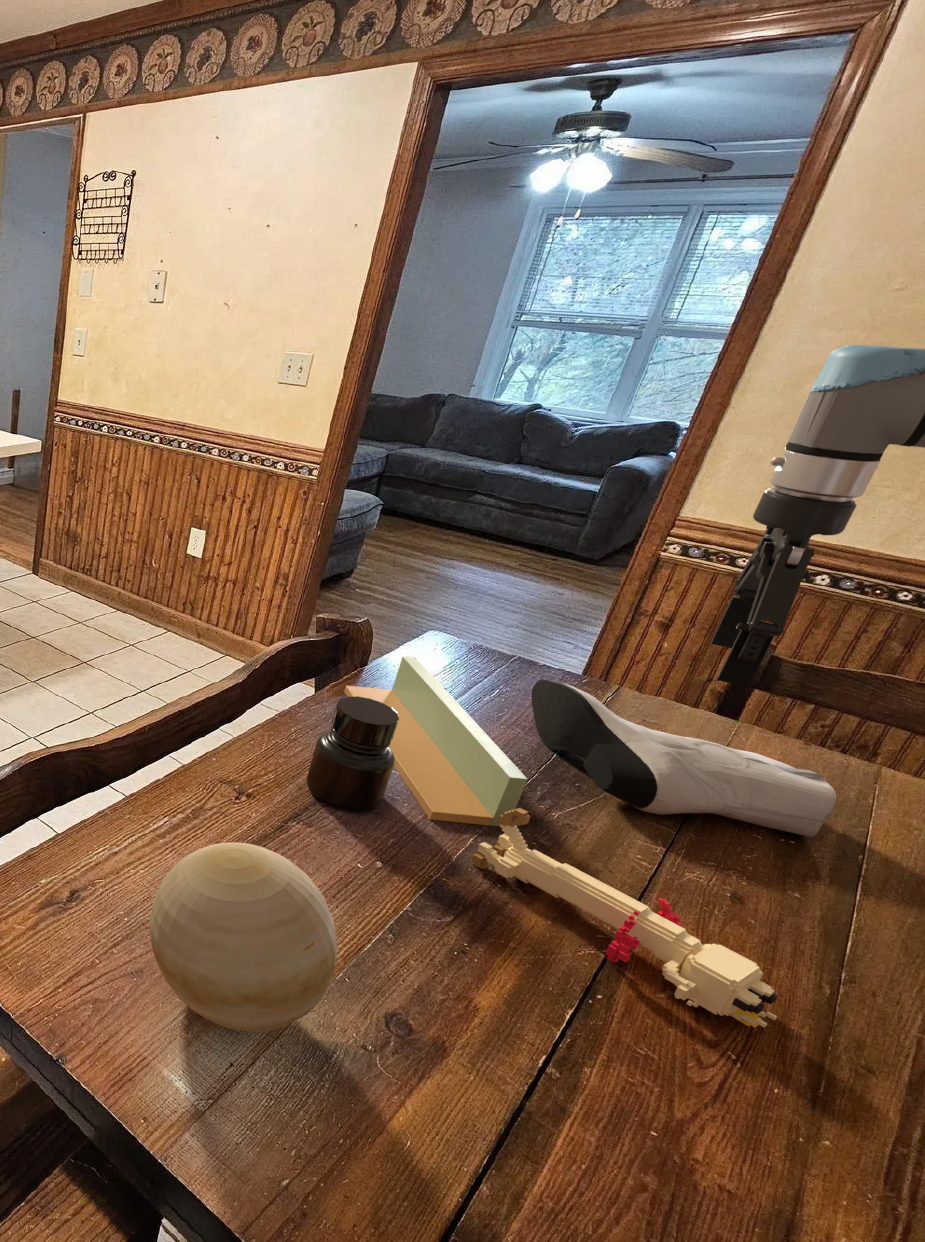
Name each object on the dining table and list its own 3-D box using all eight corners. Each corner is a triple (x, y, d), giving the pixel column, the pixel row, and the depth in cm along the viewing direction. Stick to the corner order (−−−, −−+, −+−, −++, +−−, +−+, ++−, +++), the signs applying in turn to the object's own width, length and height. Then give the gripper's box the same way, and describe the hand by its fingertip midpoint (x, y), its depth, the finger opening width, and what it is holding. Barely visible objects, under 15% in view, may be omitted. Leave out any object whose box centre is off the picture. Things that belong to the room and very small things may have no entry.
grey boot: (626, 764, 94) (876, 805, 89) (541, 650, 117) (736, 678, 112) (591, 824, 98) (827, 866, 94) (516, 703, 122) (702, 732, 117)
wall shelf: (403, 697, 123) (416, 657, 120) (507, 827, 95) (528, 779, 92) (343, 692, 124) (355, 652, 121) (429, 819, 95) (447, 771, 92)
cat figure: (455, 879, 87) (738, 1052, 67) (474, 812, 84) (777, 971, 64) (510, 856, 92) (792, 1011, 71) (530, 791, 88) (832, 933, 68)
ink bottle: (382, 783, 102) (409, 703, 96) (387, 823, 94) (416, 737, 89) (302, 764, 105) (324, 685, 100) (300, 801, 97) (324, 717, 92)
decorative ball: (286, 1109, 61) (334, 969, 55) (110, 1009, 69) (134, 875, 62) (331, 982, 72) (375, 854, 66) (175, 908, 80) (201, 786, 73)
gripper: (756, 470, 99) (685, 625, 108) (779, 507, 81) (692, 689, 90) (839, 480, 95) (759, 640, 104) (883, 522, 77) (781, 711, 86)
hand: (728, 663), depth 97 cm, fingers open, 13 cm apart
